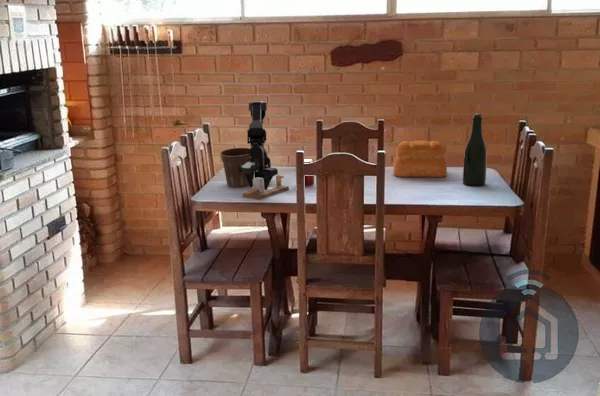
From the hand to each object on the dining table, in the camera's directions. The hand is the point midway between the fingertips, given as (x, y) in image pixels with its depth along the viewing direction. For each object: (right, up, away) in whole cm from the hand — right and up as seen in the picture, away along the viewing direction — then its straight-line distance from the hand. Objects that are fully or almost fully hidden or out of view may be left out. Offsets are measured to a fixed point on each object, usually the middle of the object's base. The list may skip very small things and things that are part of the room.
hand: (258, 188), depth 278 cm
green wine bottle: (+100, +2, +12) cm, 101 cm away
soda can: (+22, +2, +17) cm, 28 cm away
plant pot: (-11, +2, +21) cm, 24 cm away
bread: (+79, +8, +34) cm, 87 cm away
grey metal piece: (-2, -2, -2) cm, 3 cm away
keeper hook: (+9, +2, +11) cm, 15 cm away
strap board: (+3, -2, +5) cm, 6 cm away
